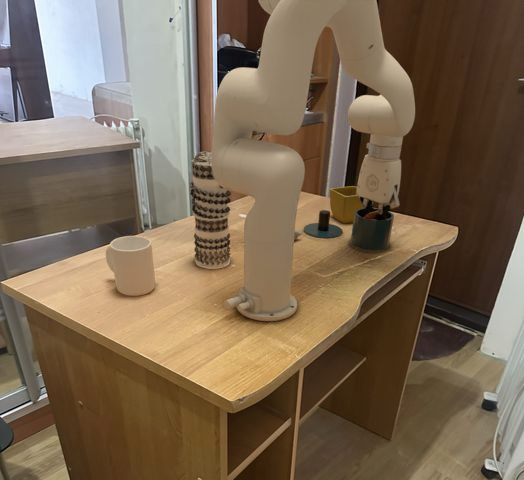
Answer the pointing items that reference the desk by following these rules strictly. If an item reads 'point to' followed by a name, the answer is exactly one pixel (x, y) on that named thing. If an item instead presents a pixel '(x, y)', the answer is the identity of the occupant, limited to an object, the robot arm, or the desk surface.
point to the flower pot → (344, 203)
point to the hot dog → (372, 215)
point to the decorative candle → (209, 215)
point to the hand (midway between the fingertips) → (372, 225)
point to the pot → (371, 231)
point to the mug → (132, 264)
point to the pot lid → (323, 227)
